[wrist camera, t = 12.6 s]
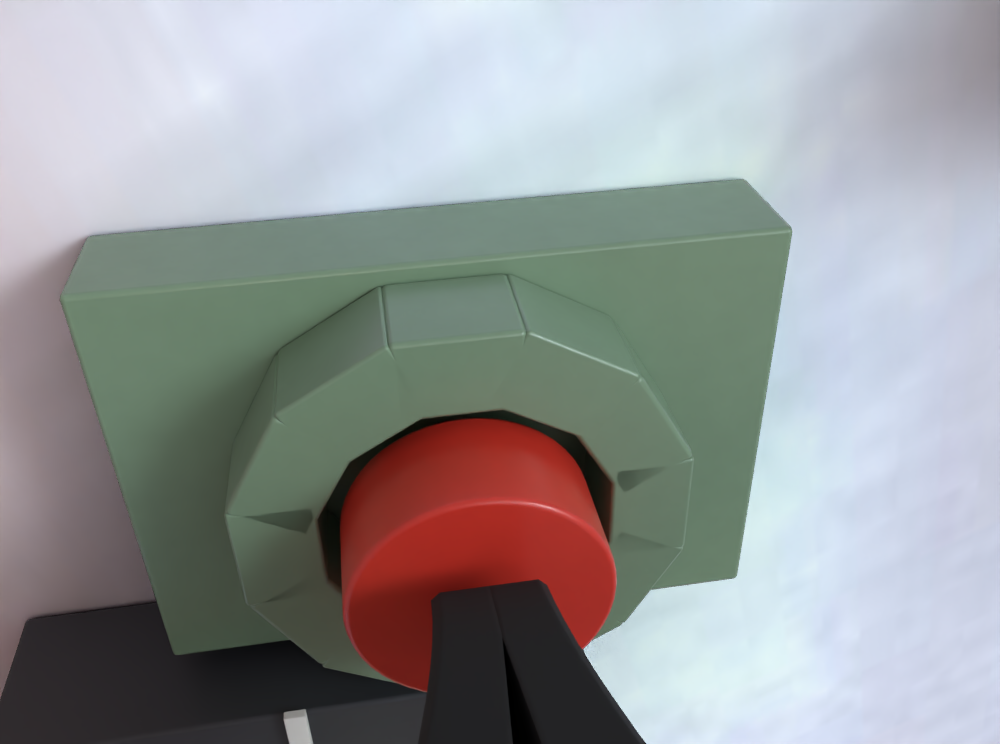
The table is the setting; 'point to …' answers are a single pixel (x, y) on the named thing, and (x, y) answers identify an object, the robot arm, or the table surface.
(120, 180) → the table surface
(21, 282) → the table surface
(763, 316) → the button housing
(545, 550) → the button
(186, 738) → the control panel
